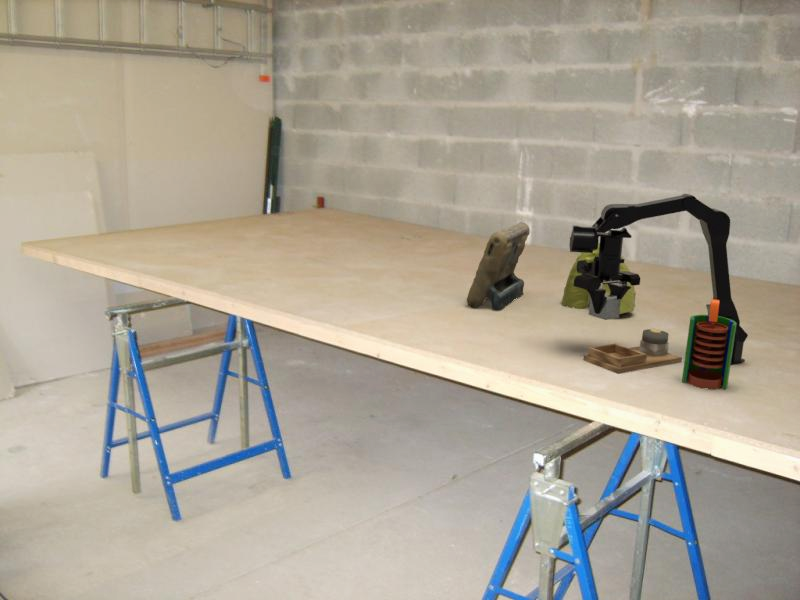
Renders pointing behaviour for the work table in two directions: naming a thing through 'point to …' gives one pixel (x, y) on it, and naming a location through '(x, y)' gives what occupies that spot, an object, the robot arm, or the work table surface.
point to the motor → (709, 349)
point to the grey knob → (655, 336)
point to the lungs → (582, 297)
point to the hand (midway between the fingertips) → (604, 312)
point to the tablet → (499, 269)
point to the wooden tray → (630, 356)
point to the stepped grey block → (607, 307)
